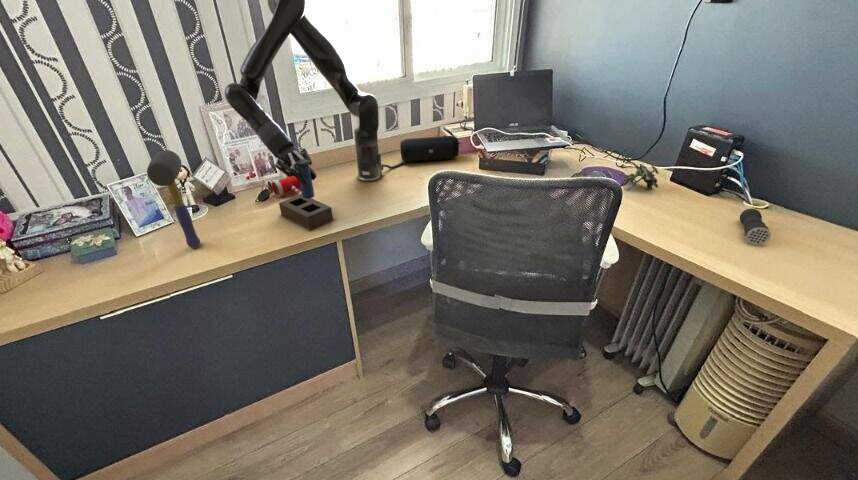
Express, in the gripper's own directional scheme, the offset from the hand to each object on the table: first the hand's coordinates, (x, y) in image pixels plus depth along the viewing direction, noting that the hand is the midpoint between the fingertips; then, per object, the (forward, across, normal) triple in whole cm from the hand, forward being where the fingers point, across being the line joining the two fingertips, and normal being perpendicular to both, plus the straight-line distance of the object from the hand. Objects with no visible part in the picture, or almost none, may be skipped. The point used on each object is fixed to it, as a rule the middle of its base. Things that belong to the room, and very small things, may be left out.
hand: (310, 180), depth 136 cm
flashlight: (+101, +51, -80) cm, 139 cm away
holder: (+7, +1, +15) cm, 16 cm away
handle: (+3, 0, +6) cm, 6 cm away
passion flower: (+78, +73, -57) cm, 121 cm away
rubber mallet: (-7, -31, +29) cm, 43 cm away
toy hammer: (-4, +14, +26) cm, 30 cm away
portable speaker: (+17, +72, +4) cm, 74 cm away
